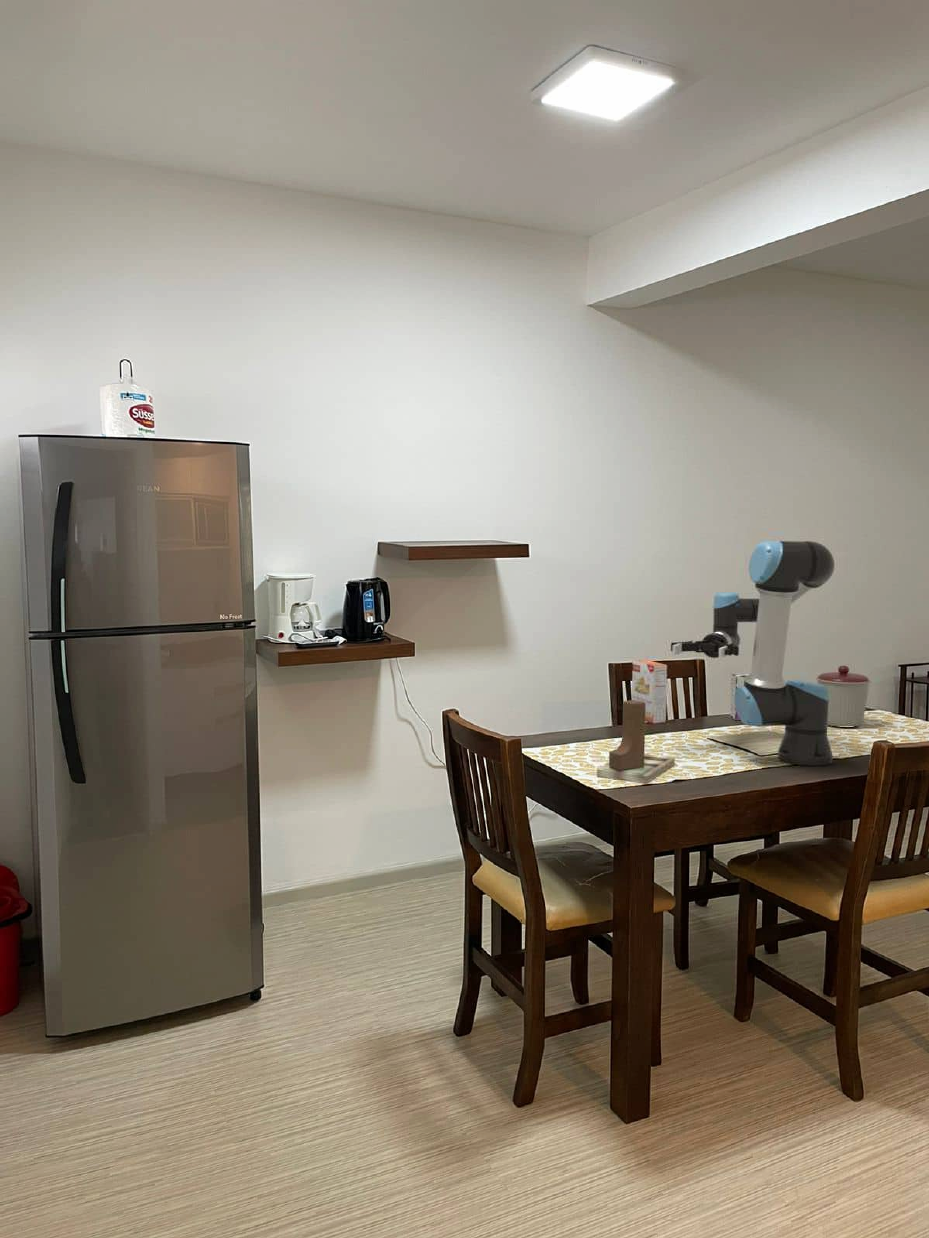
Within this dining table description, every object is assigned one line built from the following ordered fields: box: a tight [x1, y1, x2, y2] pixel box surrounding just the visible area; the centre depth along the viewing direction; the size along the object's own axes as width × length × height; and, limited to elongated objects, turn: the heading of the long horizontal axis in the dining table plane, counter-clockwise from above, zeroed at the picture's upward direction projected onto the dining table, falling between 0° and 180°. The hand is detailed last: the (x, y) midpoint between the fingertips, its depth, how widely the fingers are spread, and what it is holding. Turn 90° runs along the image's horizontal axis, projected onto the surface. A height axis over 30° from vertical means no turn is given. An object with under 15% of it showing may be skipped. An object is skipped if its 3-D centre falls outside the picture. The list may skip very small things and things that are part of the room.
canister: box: [815, 665, 872, 727], centre depth 329 cm, size 18×18×21 cm
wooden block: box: [608, 699, 646, 771], centre depth 257 cm, size 9×4×18 cm, turn 121°
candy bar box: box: [730, 673, 750, 719], centre depth 339 cm, size 11×5×16 cm, turn 97°
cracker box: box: [631, 659, 668, 725], centre depth 337 cm, size 14×6×21 cm, turn 22°
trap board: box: [596, 753, 676, 784], centre depth 264 cm, size 14×24×2 cm, turn 150°
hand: (696, 651), depth 274 cm, fingers open, 13 cm apart
